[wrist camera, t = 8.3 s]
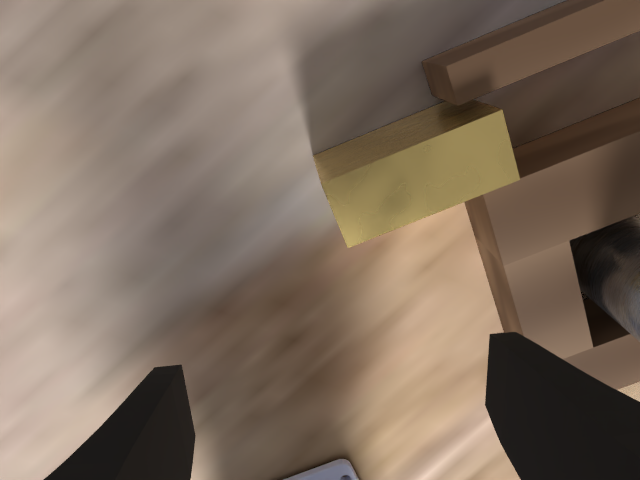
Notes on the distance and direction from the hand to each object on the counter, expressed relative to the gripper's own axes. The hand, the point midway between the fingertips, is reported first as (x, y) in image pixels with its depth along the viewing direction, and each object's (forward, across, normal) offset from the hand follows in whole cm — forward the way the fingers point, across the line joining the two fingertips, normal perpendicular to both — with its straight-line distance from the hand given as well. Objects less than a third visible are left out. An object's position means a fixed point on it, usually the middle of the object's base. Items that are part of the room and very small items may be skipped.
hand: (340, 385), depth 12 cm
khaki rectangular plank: (+10, -4, -3) cm, 11 cm away
